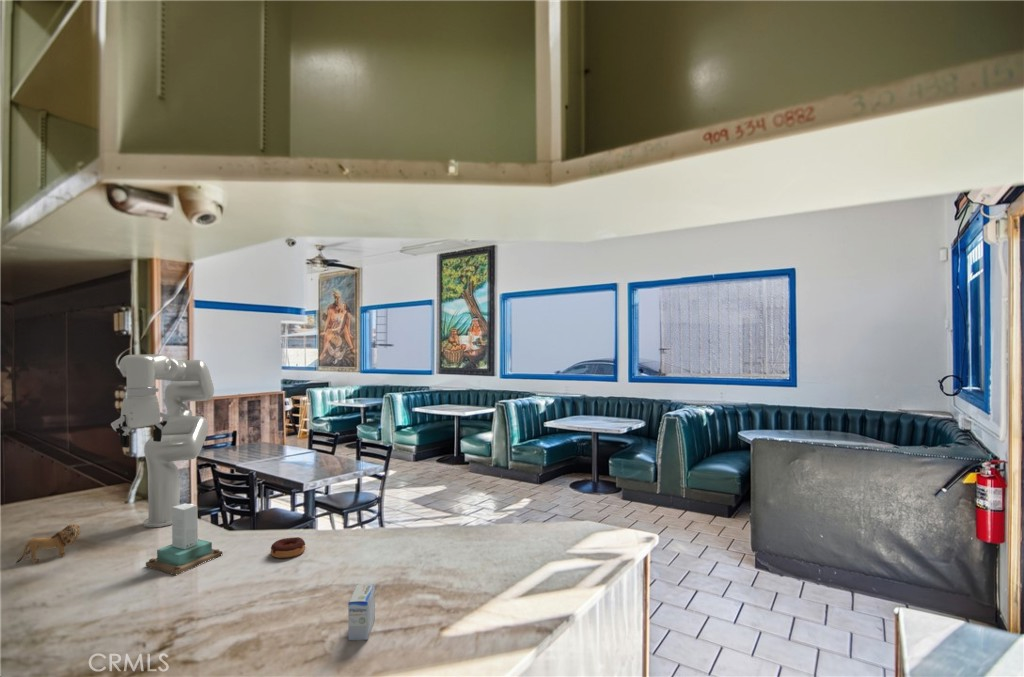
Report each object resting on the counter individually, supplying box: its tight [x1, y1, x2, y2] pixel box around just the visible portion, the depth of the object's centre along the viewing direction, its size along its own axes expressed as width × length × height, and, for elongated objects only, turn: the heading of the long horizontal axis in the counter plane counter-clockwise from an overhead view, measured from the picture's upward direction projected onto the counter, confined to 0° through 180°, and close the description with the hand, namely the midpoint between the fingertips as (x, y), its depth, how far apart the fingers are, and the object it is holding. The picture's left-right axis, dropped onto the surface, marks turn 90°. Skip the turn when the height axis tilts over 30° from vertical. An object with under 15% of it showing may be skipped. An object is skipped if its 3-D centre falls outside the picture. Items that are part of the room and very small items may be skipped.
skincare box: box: [171, 502, 199, 549], centre depth 150 cm, size 6×4×12 cm
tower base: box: [145, 538, 223, 576], centre depth 150 cm, size 14×14×4 cm
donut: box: [270, 536, 307, 559], centre depth 155 cm, size 10×10×4 cm
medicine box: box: [347, 583, 376, 641], centre depth 113 cm, size 8×4×9 cm, turn 5°
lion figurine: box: [15, 523, 81, 564], centre depth 153 cm, size 15×5×9 cm, turn 130°
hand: (141, 444), depth 165 cm, fingers open, 9 cm apart
